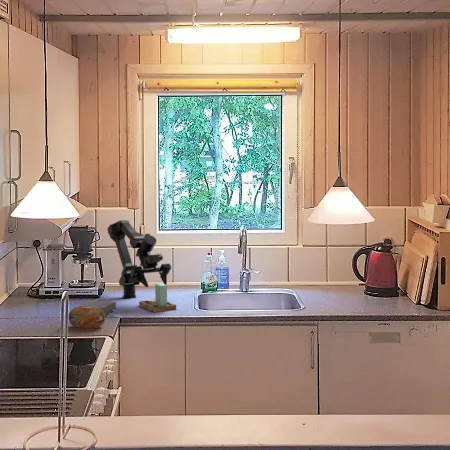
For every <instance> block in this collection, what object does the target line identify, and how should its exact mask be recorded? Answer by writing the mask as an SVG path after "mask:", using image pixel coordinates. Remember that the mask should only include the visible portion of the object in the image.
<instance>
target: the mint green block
mask: <svg viewBox="0 0 450 450" xmlns="http://www.w3.org/2000/svg"><path fill="white" fill-rule="evenodd" d="M154 286H155V287H154V288H155V291H154V295H155V297H154V298H155V305H157V306H167V301H168V285H165V284H164V283H163V282H162V283H156V284H155V285H154Z"/></svg>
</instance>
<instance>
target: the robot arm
mask: <svg viewBox="0 0 450 450" xmlns="http://www.w3.org/2000/svg"><path fill="white" fill-rule="evenodd" d="M107 234H108V236H109V238H110V240H112V241H113V242H114V244H115V246H116V250H117V253H118V257H119V259H120V263H121V266H122V269H121V273H120V274H121V276H120V278H119V280H118V283H119V286H121V287H122V290H123V294H122V300H124V299H125V300H127V299H128V300H129V299H137V294H136V286H140V283H141V284H142V285H143V286H144V287H145V288H149V284H148V281H147V279H146V276H145V274H152V273H153V274H154V273H158V274H159V275H160V276H159V277H160V279H161V281H162V284H165V285H167V282H168V280H167V277H168V275H169V273H170V271H171V269H172V266H171V264H170V263H161V265H160V267H157V266H158V263H160V262H161V261H162V260H163V259H164V256H163V254H162V252H159V253H156V254H151V252H152V251H153V249H154V248H155V245H156V243H157V238H156V237H154V236H153V235H151V234H150V233H145V235H144V234H143V233H140V232H137V230H136V229H135V228H134V227H133V225H132V224H130V221H129V220H127V219H125V220H124V219H123V220H122V219H121V220H117V222H114V223H111V224H109V226H107ZM125 238H128V240H129V245H130V247H131V248H132V249H133V250H134V249H137V251H136V254H135V257H136V258H138V260H139V262H140V263H139V265H135V264H133V262H132V259H131V255H130V252H129V249H128V248H129V247H128V246H127V245H128V244H127V241H126V239H125ZM167 286H168V285H167Z"/></svg>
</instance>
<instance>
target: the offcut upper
mask: <svg viewBox="0 0 450 450" xmlns="http://www.w3.org/2000/svg"><path fill="white" fill-rule="evenodd" d="M148 300H149V301H148V303H149V304H152V305H153V304H155V300H154V299H148Z"/></svg>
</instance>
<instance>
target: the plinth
mask: <svg viewBox="0 0 450 450" xmlns="http://www.w3.org/2000/svg"><path fill="white" fill-rule="evenodd" d="M116 303H117V302H116V301H105V300H93V299H92V300H89V301H87V302H84V303H82V304H79V305H78V307H98V308H100V309H102V310H103V311H104V313H105V317H107V316H109V315H110V313H111V314H113V313H114V310H116V309H117V304H116ZM112 312H113V313H112ZM108 314H109V315H108ZM106 315H107V316H106Z"/></svg>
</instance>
